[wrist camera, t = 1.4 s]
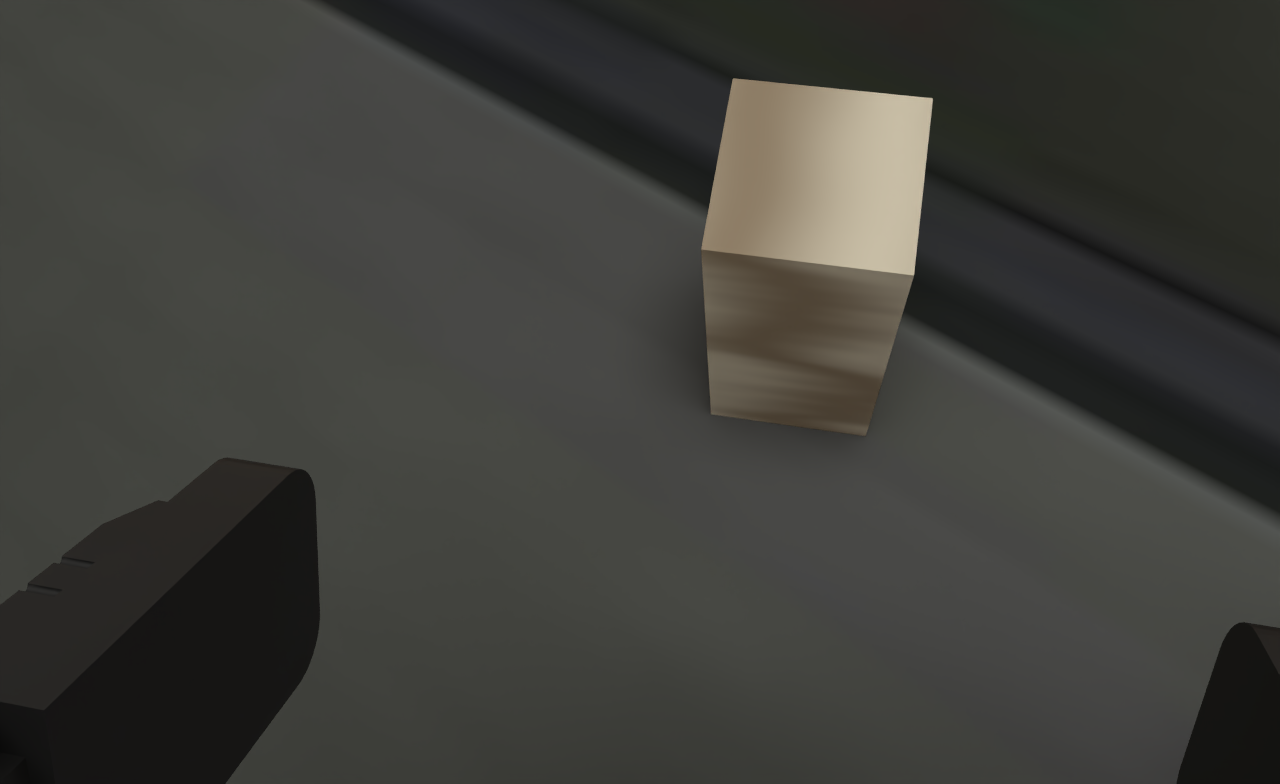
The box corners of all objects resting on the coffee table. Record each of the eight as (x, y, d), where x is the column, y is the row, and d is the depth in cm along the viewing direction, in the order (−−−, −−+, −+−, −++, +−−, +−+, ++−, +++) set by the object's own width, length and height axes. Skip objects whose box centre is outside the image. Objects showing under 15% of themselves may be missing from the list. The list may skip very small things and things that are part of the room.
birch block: (881, 298, 35) (932, 98, 26) (865, 436, 34) (914, 275, 24) (734, 279, 36) (733, 78, 27) (711, 414, 34) (701, 249, 25)
